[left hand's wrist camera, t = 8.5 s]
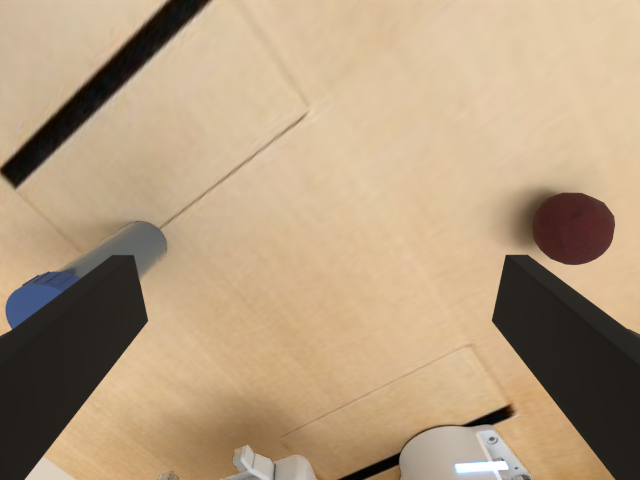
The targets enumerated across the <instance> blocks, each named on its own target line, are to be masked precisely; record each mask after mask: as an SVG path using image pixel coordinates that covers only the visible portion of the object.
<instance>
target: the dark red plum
mask: <svg viewBox="0 0 640 480" xmlns="http://www.w3.org/2000/svg"><path fill="white" fill-rule="evenodd" d="M614 228H615V221H614V216H613V214H612V213H611V212H610V210H609V209H608V208H607V206H606V205H605V204H604V203H603V202H601V201H599V200H597V199H595V198H593V197H590V196H588V195H585V194H583V193H561V194H558V195H556V196H553V197H551V198H549V199H548V200H547V201H545V202H544V203H543V204H542V205H541V207H540V208H539V210H538V211H537V213H536V217H535V220H534V224H533V236H534V240H535V242H536V243H537V245H538V247H539V248H540V250H541V251H543V252H544V253H545V254H546V255H547V256H548V257H549V258H551V259H553V260H555V261H558V262H561V263H564V264H568V265H580V264H584V263H588V262H590V261H593V260H595V259H597V258H598V257H599V256H601V255H602V254H603V253H604V252H605V251H606V250H607V249H608V248H609V246H610V244H611V242H612V239H613V233H614Z"/></svg>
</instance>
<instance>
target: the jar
mask: <svg viewBox="0 0 640 480" xmlns="http://www.w3.org/2000/svg"><path fill="white" fill-rule="evenodd" d="M166 251H167V243H166V239H165V237H164V235H163V234H162V232H161V231H160V230H159V229H158V228H157V227H155V226H154V225H152V224H149V223H146V222H132V223H130V224H128V225H127V226H125V227H123V228H122V229H120V230H119V231H117V232H116V233H114V234H113V235H111V236H110V237H108V238H106V239H105V240H103V241H102V242H100V243H99V244H97V245H96V246H94V247H93V248H91V249H89V250H88V251H86V252H85V253H83V254H82V255H80V256H79V257H77V258H76V259H74V260H72V261H71V262H69V263H68V264H66V265H65V266H63V267H62V268H60V269H59V270H57V271H55V272H60V271H61V272H66V273H70V274H73V275H76V276H78V277H80V278H82V277H83V276H85V275H86V274H87V273H89V272H90V271H91V270H93V269H94V268H96V267H97V266H98V265H100V264H101V263H102V262H104V261H105V260H106V259H108V258H109V257H110V256H112V255H134V257H135V261H136V266H137V271H138V276H139V280H141V279H142V278H143V277H144V276H145V275H146V274H147V273H148V272H149V271H150V270H151V269H152V268H153V267H154V266H155V265H156V264H157V263H158V262H159V261H160V260H161V259H162V258H163V257H164V256H165V254H166Z"/></svg>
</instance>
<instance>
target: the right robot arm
mask: <svg viewBox="0 0 640 480" xmlns="http://www.w3.org/2000/svg"><path fill="white" fill-rule="evenodd" d="M234 454H235V455H234V456H233V464H234V466H235V467H237V470H238V471H239V472H240V473H238V474H235V475H231V476H228V477H225V478H222V479H219V480H316V477H315V474H314V472H313V469H312V467H311V465H310V463H309V461H308V460H307V458H306V457H303V456H301V455H297V454H295V455H292V456H289V457H286V458H283V459H280V460H277V461H274V462H272V461H271V459H270V458H267V457H264V456H262V455H259V454H256V453H254V452H253V451H252V450H251V448H250V447H249V445H245V446H242V447H240V448H237V449H235V450H234ZM399 466H400V470H401V477H400V480H533V479H532V477H531V475H530V473H529V472H528V471H527V469H526V468H525V467H524V465H523V464H522V463H521V462H520V460H519V459H518V458H517V456H516V455H515V454H514V453H513V451H512V450H511V449H510V447H509V446H508V445H507V444H506V442H505V441H504V440H503V438H502V437H501V436H500V435H499V433H498V432H497V431H496V429H495V428H494V427H493V426H492V425H479V426H474V427H461V426H444V427H438V428H434V429H430V430H428V431H425V432H423V433H421V434H419V435H417V436H416V437H414V438H413V439H412V440H411V441H409V442H408V443H407V445H406V446H405V447H404V449H403V450H402V452H401V455H400V458H399ZM157 480H179V477H178V476H177V475H175V474H174V472H173V471H169V472H166V473H163V474H160V475H159V476H158V479H157Z"/></svg>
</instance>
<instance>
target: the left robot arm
mask: <svg viewBox="0 0 640 480" xmlns="http://www.w3.org/2000/svg"><path fill="white" fill-rule="evenodd" d="M147 322H148V318H147V313H146V308H145V304H144V299H143V294H142V290H141V285H140V280H139V276H138V271H137V266H136V261H135V257H134V255H112V256H110V257H109V258H108V259H106V260H105V261H104V262H102V263H101V264H100V265H98V266H97V267H96V268H94V269H93V270H91V271H90V272H89V273H87V274H86V275H85V276H83V277H82V278H81V279H79V280H78V281H77V282H75V283H74V284H73V285H71V286H70V287H69V288H67V289H66V290H65V291H63V292H62V293H61V294H59V295H58V296H57V297H55V298H54V299H53V300H51V301H50V302H49V303H47V304H46V305H45V306H43V307H42V308H40V309H39V310H38V311H36V312H35V313H34V314H32V315H31V316H30V317H28V318H27V319H26V320H24V321H23V322H22V323H20V324H19V325H18V326H16V327H15V328H14V329H12V330H11V331H9V332H7V333H5V334H3V335H1V336H0V480H25V478H26V477H27V476H28V474H29V473H30V472H31V471H32V469H33V468H34V467H35V465H36V464H37V463H38V462H39V460H40V459H41V458H42V457H43V455H44V454H45V453H46V451H47V450H48V449H49V448H50V446H51V445H52V444H53V442H54V441H55V440H56V439H57V437H58V436H59V435H60V433H61V432H62V431H63V430H64V428H65V427H66V426H67V424H68V423H69V422H70V421H71V419H72V418H73V417H74V415H75V414H76V413H77V412H78V410H79V409H80V408H81V406H82V405H83V404H84V403H85V401H86V400H87V399H88V397H89V396H90V395H91V394H92V392H93V391H94V390H95V388H96V387H97V386H98V385H99V383H100V382H101V381H102V380H103V378H104V377H105V376H106V374H107V373H108V372H109V371H110V369H111V368H112V367H113V365H114V364H115V363H116V362H117V360H118V359H119V358H120V356H121V355H122V354H123V353H124V351H125V350H126V349H127V347H128V346H129V345H130V344H131V342H132V341H133V340H134V338H135V337H136V336H137V335H138V333H139V332H140V331H141V329H142V328H143V327H144V326H145V324H146V323H147ZM492 322H493V323H494V324H495V326H496V327H497V328H498V329H499V331H500V332H501V333H502V335H503V336H504V337H505V338H506V340H507V341H508V342H509V344H510V345H511V346H512V347H513V349H514V350H515V351H516V353H517V354H518V355H519V356H520V358H521V359H522V360H523V362H524V363H525V364H526V365H527V367H528V368H529V369H530V371H531V372H532V373H533V374H534V376H535V377H536V378H537V380H538V381H539V382H540V383H541V385H542V386H543V387H544V388H545V390H546V391H547V392H548V394H549V395H550V396H551V397H552V399H553V400H554V401H555V403H556V404H557V405H558V406H559V408H560V409H561V410H562V412H563V413H564V414H565V415H566V417H567V418H568V419H569V421H570V422H571V423H572V424H573V426H574V427H575V428H576V430H577V431H578V432H579V433H580V435H581V436H582V437H583V439H584V440H585V441H586V442H587V444H588V445H589V446H590V448H591V449H592V450H593V451H594V453H595V454H596V455H597V457H598V458H599V459H600V460H601V462H602V463H603V464H604V466H605V467H606V468H607V469H608V471H609V472H610V473H611V475H612V476H613V477H614V478H615V480H640V334H638V333H636V332H634V331H632V330H630V329H626V328H625V327H624V326H622V325H621V324H620V323H618V322H617V321H616V320H614V319H613V318H612V317H610V316H609V315H608V314H606V313H605V312H604V311H602V310H601V309H600V308H598V307H597V306H595V305H594V304H593V303H591V302H590V301H589V300H587V299H586V298H585V297H583V296H582V295H581V294H579V293H578V292H577V291H575V290H574V289H573V288H571V287H570V286H569V285H567V284H566V283H565V282H563V281H562V280H561V279H559V278H558V277H557V276H555V275H554V274H553V273H551V272H550V271H549V270H547V269H546V268H544V267H543V266H542V265H540V264H539V263H538V262H536V261H535V260H534V259H532V258H531V257H530V256H528V255H506V257H505V261H504V266H503V271H502V276H501V280H500V285H499V290H498V294H497V299H496V304H495V308H494V313H493V318H492Z"/></svg>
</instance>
